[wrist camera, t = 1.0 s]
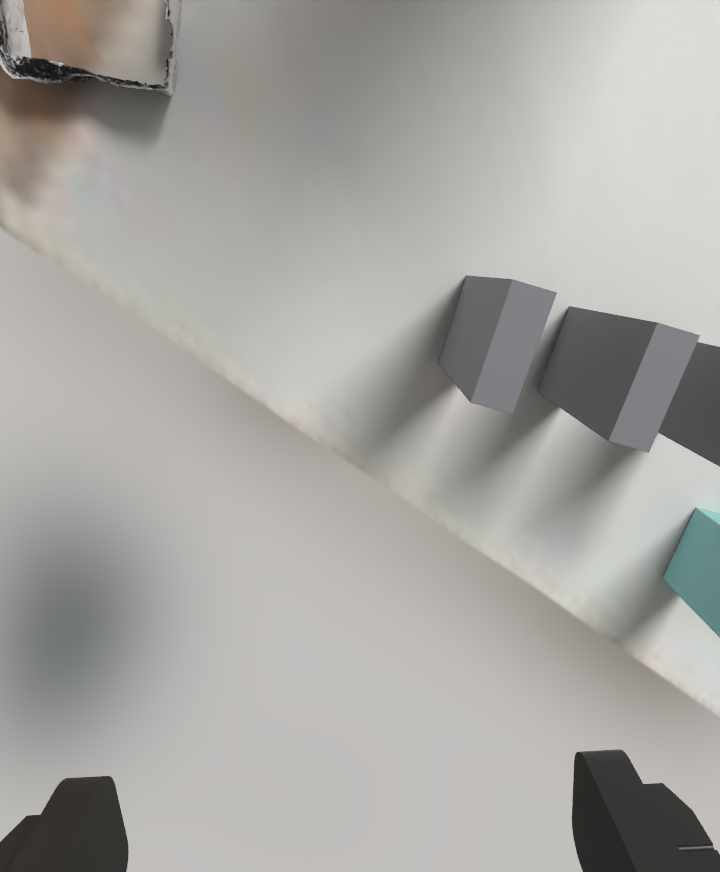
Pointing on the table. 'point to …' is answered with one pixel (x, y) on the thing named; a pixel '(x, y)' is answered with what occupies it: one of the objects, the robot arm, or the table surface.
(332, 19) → the table surface
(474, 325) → the domino
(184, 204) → the table surface
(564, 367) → the domino
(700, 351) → the domino
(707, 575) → the domino
